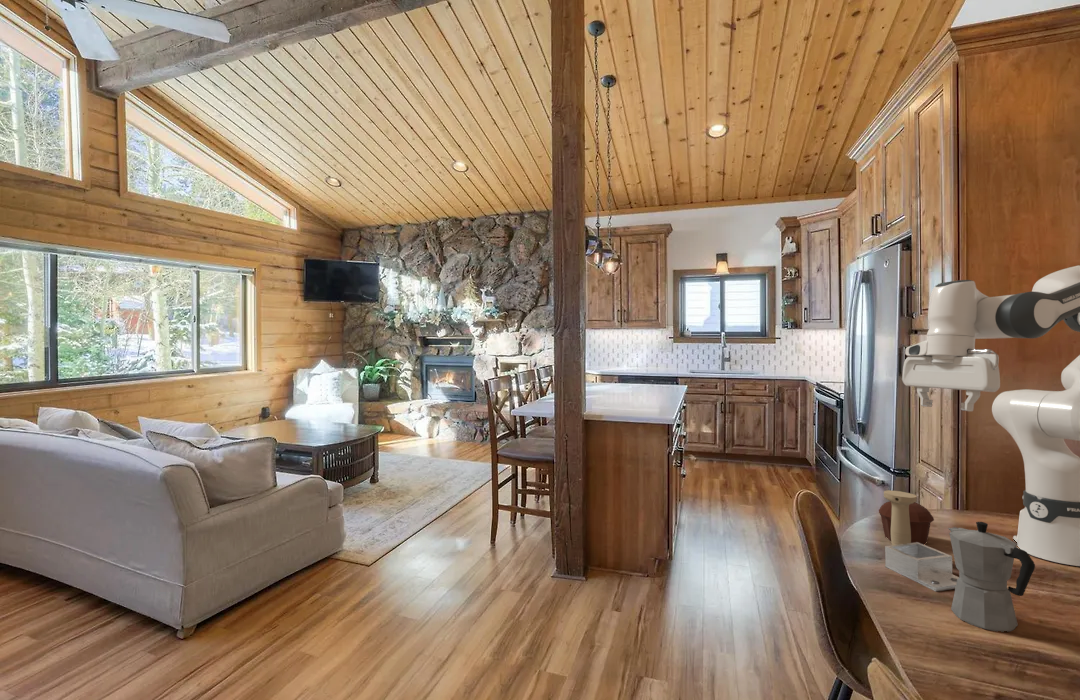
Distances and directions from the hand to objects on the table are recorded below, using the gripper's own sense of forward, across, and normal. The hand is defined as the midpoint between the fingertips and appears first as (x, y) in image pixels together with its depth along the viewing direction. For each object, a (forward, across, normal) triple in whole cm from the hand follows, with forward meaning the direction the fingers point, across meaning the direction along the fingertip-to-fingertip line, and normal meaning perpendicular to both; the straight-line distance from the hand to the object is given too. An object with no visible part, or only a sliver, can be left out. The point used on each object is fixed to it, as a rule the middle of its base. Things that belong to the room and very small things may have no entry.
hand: (945, 408), depth 116 cm
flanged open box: (+37, -4, +7) cm, 38 cm away
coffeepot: (+38, -21, +13) cm, 45 cm away
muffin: (+36, +14, -7) cm, 39 cm away
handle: (+37, +6, +3) cm, 37 cm away
